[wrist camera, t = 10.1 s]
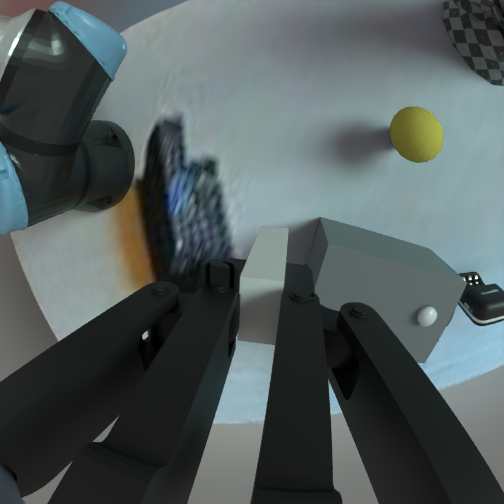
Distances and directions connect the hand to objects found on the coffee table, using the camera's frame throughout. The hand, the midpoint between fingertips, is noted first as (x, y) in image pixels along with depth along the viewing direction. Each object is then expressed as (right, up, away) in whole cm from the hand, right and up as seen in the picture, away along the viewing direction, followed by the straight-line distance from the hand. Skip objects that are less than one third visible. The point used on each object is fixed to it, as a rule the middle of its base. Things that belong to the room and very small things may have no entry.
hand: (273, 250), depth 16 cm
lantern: (+37, +35, +7) cm, 52 cm away
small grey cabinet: (+16, -3, +24) cm, 29 cm away
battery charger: (+34, -4, +21) cm, 40 cm away
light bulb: (+19, +16, +17) cm, 30 cm away
